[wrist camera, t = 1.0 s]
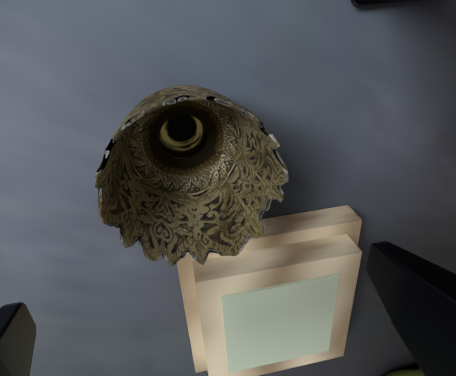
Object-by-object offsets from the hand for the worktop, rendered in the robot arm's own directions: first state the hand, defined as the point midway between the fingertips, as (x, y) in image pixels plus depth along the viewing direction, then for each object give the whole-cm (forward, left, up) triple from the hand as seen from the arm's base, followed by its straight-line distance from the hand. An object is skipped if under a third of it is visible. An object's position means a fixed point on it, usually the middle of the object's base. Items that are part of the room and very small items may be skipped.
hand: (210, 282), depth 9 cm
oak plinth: (-5, +14, -13) cm, 20 cm away
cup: (0, 0, -13) cm, 13 cm away
